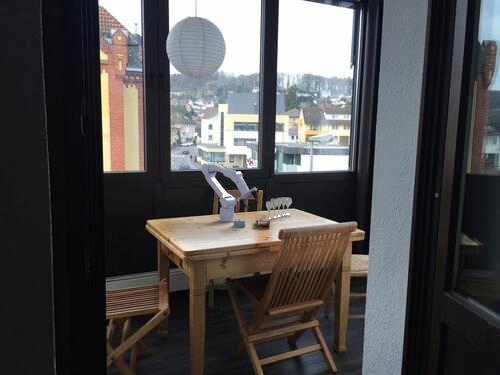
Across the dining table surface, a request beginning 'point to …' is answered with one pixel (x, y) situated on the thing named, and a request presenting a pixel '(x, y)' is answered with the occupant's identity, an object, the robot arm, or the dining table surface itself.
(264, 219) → the walnut shelf
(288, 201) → the goblet set
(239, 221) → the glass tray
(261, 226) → the dining table surface
